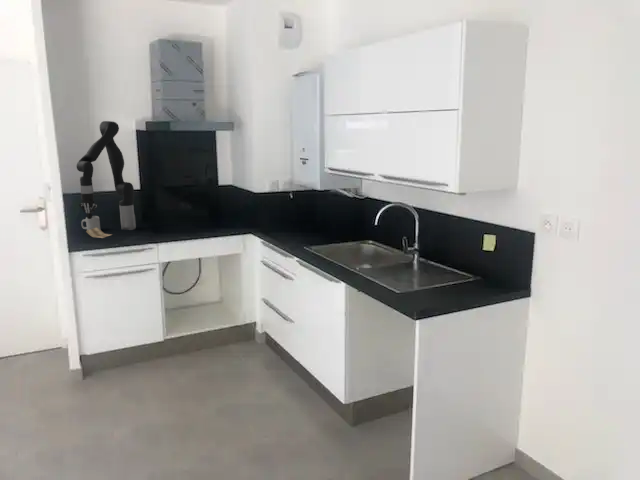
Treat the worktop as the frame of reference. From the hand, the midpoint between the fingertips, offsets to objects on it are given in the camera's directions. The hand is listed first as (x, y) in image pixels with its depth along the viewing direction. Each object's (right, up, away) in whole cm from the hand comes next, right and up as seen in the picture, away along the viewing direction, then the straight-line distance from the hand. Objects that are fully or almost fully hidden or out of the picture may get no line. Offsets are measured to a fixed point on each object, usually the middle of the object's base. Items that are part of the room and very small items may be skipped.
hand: (89, 218), depth 342 cm
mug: (-6, -9, +17) cm, 20 cm away
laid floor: (+5, -12, +4) cm, 14 cm away
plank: (+2, -10, +4) cm, 10 cm away
